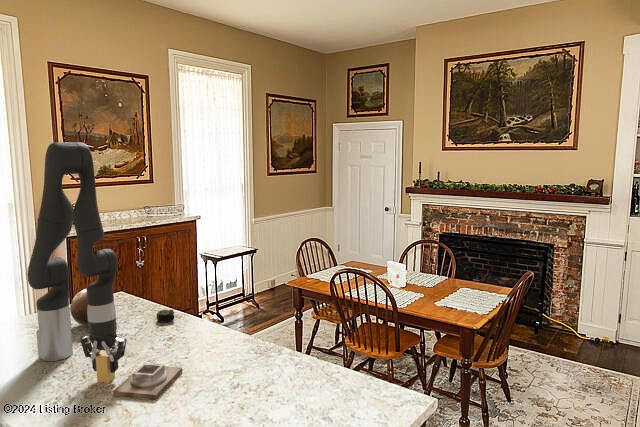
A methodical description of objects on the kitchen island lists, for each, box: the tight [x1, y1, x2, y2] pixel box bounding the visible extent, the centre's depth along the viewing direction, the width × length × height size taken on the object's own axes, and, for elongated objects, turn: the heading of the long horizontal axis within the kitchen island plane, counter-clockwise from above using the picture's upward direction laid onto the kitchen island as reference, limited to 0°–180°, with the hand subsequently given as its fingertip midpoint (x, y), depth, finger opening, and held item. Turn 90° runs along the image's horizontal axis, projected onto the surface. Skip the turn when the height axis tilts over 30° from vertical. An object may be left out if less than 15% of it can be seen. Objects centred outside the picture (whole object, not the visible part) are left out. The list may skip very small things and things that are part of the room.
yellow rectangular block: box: [96, 351, 116, 384], centre depth 137 cm, size 4×4×8 cm
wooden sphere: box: [69, 288, 88, 327], centre depth 179 cm, size 15×15×15 cm
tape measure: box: [155, 308, 175, 323], centre depth 185 cm, size 7×7×4 cm
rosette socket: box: [112, 362, 183, 401], centre depth 135 cm, size 13×16×4 cm
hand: (105, 370), depth 137 cm, fingers open, 5 cm apart
